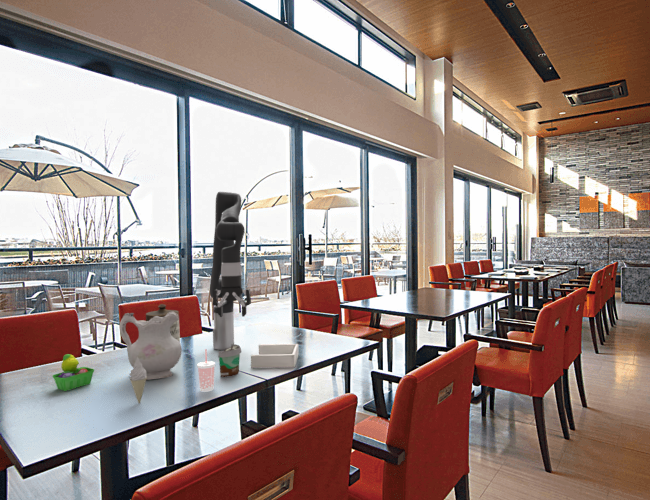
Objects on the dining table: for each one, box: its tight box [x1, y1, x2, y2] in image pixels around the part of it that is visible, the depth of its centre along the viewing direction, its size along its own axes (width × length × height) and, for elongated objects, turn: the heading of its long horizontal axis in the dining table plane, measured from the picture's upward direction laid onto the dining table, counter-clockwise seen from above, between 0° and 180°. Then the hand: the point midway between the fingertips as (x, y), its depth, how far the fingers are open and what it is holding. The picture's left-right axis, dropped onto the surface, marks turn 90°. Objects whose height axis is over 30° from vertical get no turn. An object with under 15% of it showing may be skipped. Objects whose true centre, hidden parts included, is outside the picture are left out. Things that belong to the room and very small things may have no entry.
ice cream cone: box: [129, 357, 147, 404], centre depth 134 cm, size 5×5×15 cm
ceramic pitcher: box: [119, 312, 183, 381], centre depth 162 cm, size 22×20×25 cm
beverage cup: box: [196, 348, 216, 393], centre depth 146 cm, size 6×6×14 cm
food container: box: [217, 343, 242, 378], centre depth 162 cm, size 12×6×10 cm, turn 168°
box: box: [250, 343, 300, 369], centre depth 178 cm, size 18×18×5 cm
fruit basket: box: [52, 353, 95, 392], centre depth 152 cm, size 11×9×11 cm
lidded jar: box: [145, 303, 181, 343], centre depth 199 cm, size 15×15×22 cm
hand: (232, 316), depth 162 cm, fingers open, 8 cm apart
